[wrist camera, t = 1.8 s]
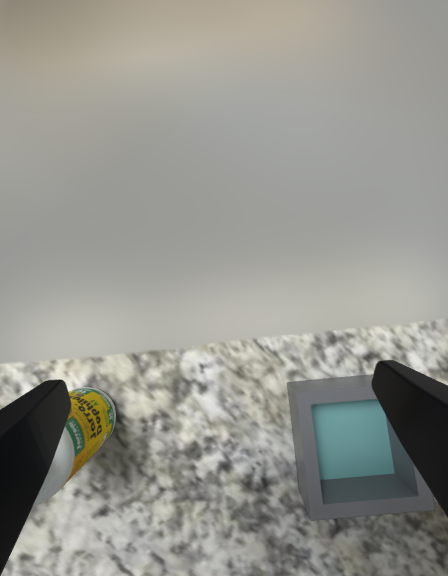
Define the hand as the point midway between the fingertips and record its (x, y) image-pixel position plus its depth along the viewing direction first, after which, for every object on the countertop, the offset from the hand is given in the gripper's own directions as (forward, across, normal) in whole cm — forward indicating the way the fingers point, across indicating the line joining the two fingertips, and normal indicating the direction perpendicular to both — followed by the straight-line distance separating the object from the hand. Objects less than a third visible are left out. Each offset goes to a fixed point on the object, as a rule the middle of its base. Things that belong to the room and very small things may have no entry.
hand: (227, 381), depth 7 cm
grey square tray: (+9, -11, +15) cm, 20 cm away
